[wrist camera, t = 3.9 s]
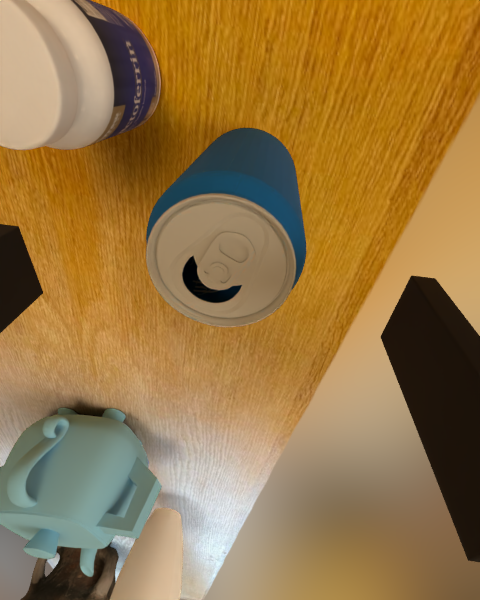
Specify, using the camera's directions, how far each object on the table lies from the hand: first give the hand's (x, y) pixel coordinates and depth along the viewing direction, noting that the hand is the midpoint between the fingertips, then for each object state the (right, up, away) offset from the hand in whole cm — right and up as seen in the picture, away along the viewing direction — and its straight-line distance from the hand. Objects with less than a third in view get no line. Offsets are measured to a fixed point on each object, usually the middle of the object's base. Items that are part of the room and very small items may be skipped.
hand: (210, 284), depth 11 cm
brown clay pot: (-38, -67, +72) cm, 105 cm away
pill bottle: (-6, +13, +8) cm, 16 cm away
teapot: (-19, -20, +34) cm, 43 cm away
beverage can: (+2, +8, +10) cm, 13 cm away
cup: (-11, -36, +44) cm, 58 cm away
